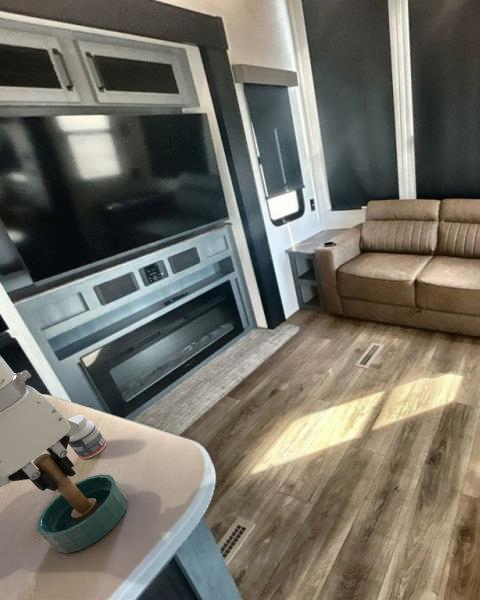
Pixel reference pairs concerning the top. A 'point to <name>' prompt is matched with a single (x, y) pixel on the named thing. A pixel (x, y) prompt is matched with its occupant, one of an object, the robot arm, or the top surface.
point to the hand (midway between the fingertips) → (59, 480)
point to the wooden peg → (67, 488)
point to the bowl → (81, 534)
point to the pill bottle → (86, 438)
